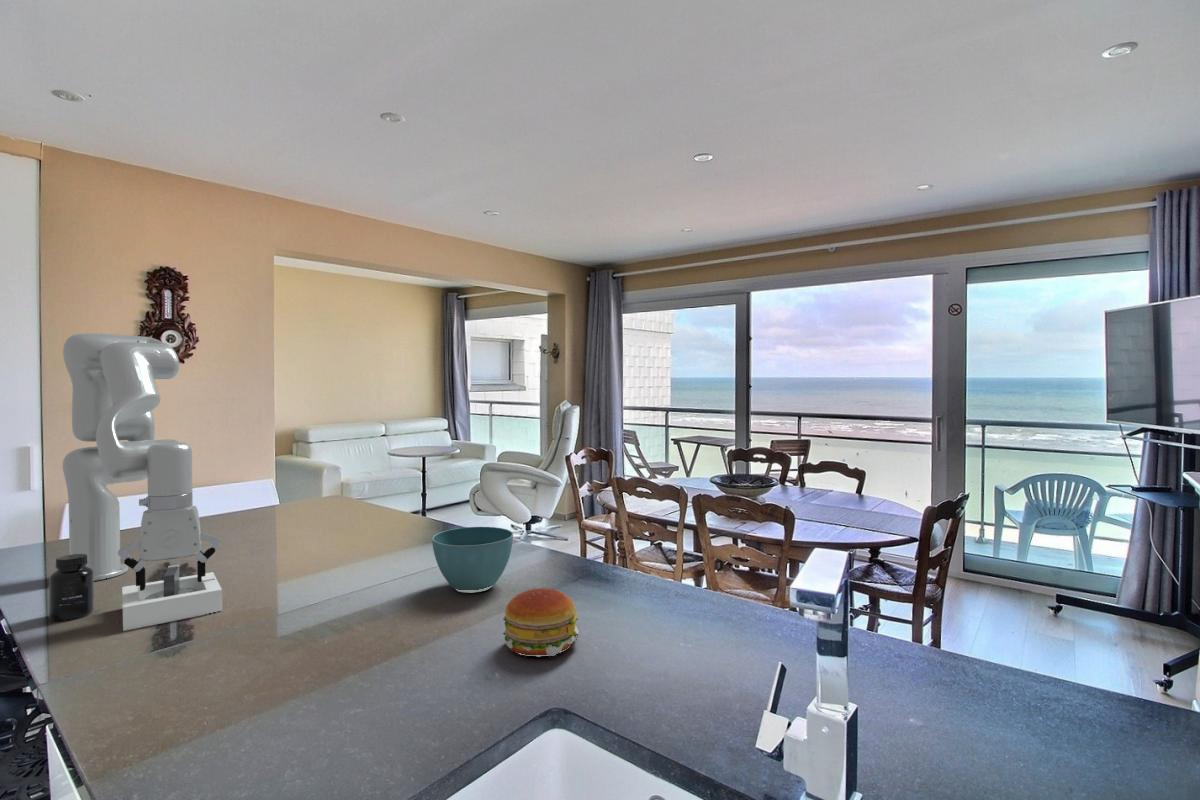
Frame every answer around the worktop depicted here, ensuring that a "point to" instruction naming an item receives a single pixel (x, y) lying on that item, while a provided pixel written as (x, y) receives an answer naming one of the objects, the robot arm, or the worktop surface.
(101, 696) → the worktop surface
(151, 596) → the dial
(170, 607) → the dial housing
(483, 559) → the teal bowl
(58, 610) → the supplement bottle
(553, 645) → the burger
